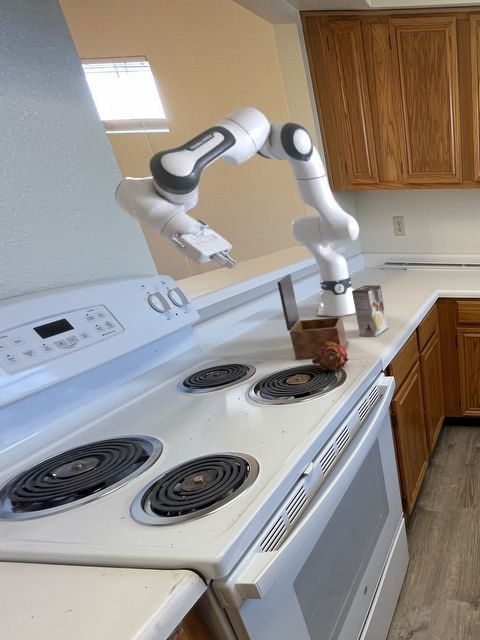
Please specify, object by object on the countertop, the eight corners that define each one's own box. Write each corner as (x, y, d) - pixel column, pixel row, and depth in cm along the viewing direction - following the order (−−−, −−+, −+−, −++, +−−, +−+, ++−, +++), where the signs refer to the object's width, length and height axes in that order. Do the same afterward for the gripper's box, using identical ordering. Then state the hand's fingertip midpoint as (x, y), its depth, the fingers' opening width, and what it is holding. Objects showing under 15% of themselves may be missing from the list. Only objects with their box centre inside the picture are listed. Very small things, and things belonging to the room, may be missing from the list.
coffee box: (371, 327, 155) (364, 284, 148) (387, 328, 154) (381, 285, 147) (359, 335, 147) (351, 290, 140) (376, 336, 145) (368, 290, 139)
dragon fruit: (343, 380, 116) (325, 375, 124) (361, 356, 119) (342, 352, 127) (318, 362, 110) (301, 358, 118) (338, 337, 113) (320, 335, 121)
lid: (290, 274, 129) (287, 274, 129) (280, 282, 118) (277, 282, 118) (299, 319, 135) (296, 319, 135) (290, 330, 124) (287, 330, 124)
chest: (346, 341, 141) (342, 316, 138) (342, 354, 130) (337, 327, 126) (304, 345, 139) (298, 320, 135) (296, 359, 128) (289, 332, 124)
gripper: (172, 225, 104) (226, 263, 110) (206, 220, 122) (251, 253, 128) (158, 245, 105) (213, 281, 111) (194, 237, 123) (239, 268, 129)
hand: (233, 266), depth 120 cm, fingers closed
